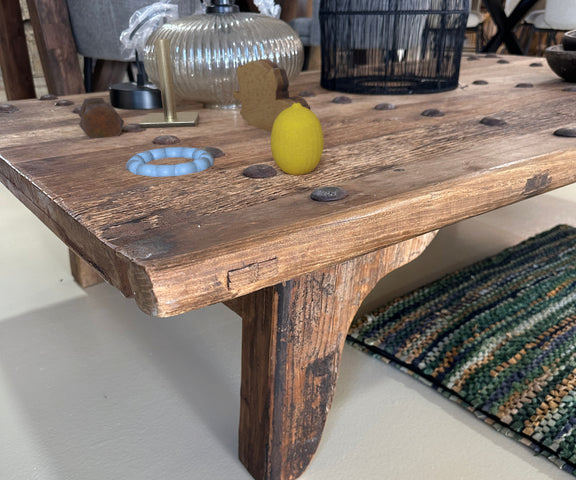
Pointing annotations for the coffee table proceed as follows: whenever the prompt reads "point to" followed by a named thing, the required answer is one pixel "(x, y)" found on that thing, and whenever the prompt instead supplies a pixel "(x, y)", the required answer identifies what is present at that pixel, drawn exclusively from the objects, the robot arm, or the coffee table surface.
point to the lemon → (297, 140)
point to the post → (168, 95)
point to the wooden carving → (264, 93)
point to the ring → (140, 168)
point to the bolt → (99, 119)
